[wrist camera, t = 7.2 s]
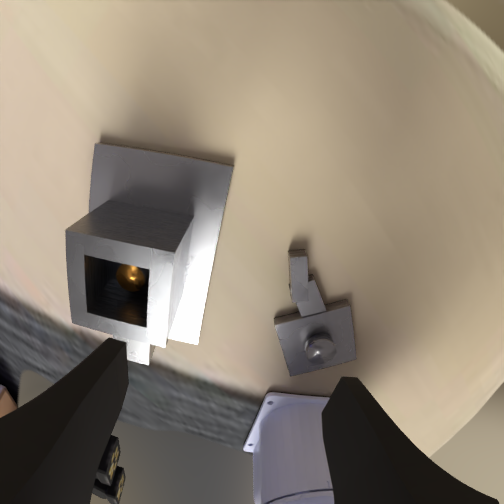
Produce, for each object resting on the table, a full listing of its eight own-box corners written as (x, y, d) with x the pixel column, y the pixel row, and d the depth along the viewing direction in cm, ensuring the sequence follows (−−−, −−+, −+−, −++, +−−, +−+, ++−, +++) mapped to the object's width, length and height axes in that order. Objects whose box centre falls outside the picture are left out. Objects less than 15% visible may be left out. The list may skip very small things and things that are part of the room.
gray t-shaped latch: (353, 352, 22) (360, 368, 21) (289, 368, 23) (291, 386, 21) (337, 237, 19) (345, 249, 17) (255, 259, 19) (256, 273, 17)
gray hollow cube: (182, 295, 19) (165, 347, 15) (105, 278, 19) (72, 323, 14) (194, 215, 17) (174, 252, 13) (108, 199, 17) (65, 229, 12)
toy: (119, 419, 25) (-73, 319, 23) (100, 478, 19) (-101, 351, 16) (128, 478, 34) (-30, 402, 31) (118, 517, 28) (-46, 431, 25)
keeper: (197, 344, 22) (190, 380, 18) (93, 318, 21) (73, 348, 18) (233, 165, 17) (229, 177, 14) (99, 142, 16) (68, 150, 13)
